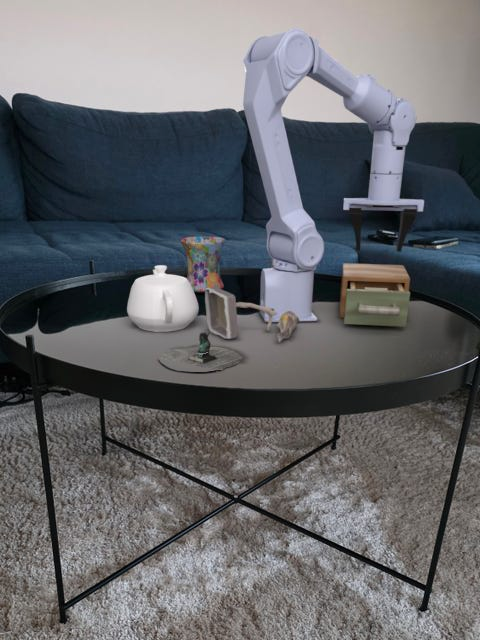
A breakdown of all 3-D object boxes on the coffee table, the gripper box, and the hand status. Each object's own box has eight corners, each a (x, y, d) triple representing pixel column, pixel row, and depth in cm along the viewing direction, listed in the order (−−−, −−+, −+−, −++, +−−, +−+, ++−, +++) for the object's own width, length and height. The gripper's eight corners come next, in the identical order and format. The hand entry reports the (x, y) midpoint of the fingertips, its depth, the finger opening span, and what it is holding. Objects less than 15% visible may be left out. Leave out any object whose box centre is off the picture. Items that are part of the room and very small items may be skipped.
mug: (228, 294, 125) (228, 242, 120) (184, 296, 123) (182, 243, 119) (220, 282, 135) (219, 234, 131) (179, 283, 134) (177, 235, 129)
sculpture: (246, 350, 92) (243, 322, 85) (236, 403, 89) (232, 378, 82) (172, 341, 94) (163, 313, 87) (159, 392, 90) (148, 367, 83)
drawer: (408, 335, 96) (413, 299, 94) (344, 332, 98) (347, 297, 95) (399, 309, 111) (403, 278, 108) (343, 307, 112) (346, 276, 110)
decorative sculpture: (297, 327, 103) (299, 285, 100) (307, 344, 95) (310, 298, 91) (205, 328, 102) (204, 285, 99) (207, 345, 93) (206, 299, 90)
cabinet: (404, 320, 107) (410, 278, 104) (340, 317, 109) (343, 276, 106) (398, 303, 118) (403, 265, 115) (340, 301, 120) (343, 263, 117)
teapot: (124, 311, 112) (119, 256, 108) (188, 307, 115) (187, 254, 110) (132, 343, 94) (127, 279, 90) (208, 338, 97) (207, 275, 93)
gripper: (424, 173, 110) (414, 248, 116) (345, 172, 112) (340, 245, 118) (429, 175, 104) (418, 254, 110) (346, 173, 106) (340, 251, 112)
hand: (378, 250), depth 114 cm, fingers open, 7 cm apart
